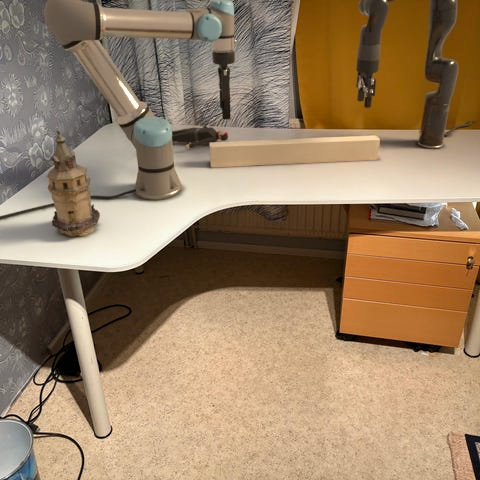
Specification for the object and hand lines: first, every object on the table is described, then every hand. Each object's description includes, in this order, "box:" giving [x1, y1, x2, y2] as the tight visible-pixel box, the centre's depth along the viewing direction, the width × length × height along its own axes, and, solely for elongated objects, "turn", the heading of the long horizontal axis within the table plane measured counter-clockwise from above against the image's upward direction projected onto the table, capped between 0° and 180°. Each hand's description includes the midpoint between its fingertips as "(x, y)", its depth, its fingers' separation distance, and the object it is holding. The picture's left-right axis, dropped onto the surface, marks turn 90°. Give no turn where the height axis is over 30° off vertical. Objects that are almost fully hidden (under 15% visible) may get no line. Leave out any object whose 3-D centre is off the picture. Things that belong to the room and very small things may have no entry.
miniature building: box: [46, 129, 101, 237], centre depth 148 cm, size 13×14×30 cm
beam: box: [209, 134, 381, 168], centre depth 198 cm, size 62×5×8 cm, turn 95°
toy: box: [172, 124, 229, 150], centre depth 219 cm, size 26×6×30 cm
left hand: (225, 113), depth 189 cm, fingers open, 13 cm apart
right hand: (363, 104), depth 192 cm, fingers open, 8 cm apart
